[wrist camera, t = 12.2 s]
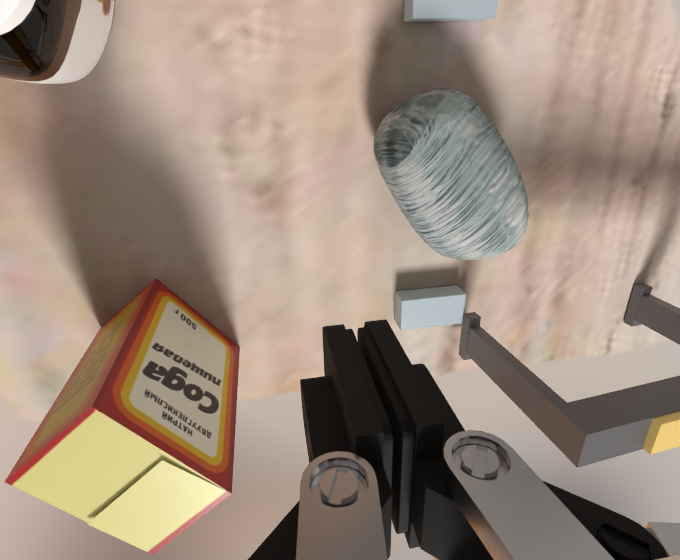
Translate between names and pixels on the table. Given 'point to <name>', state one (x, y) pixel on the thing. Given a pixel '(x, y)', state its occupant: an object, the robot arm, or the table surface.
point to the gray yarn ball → (452, 175)
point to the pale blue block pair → (449, 301)
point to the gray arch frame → (595, 412)
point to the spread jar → (53, 38)
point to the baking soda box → (141, 425)
